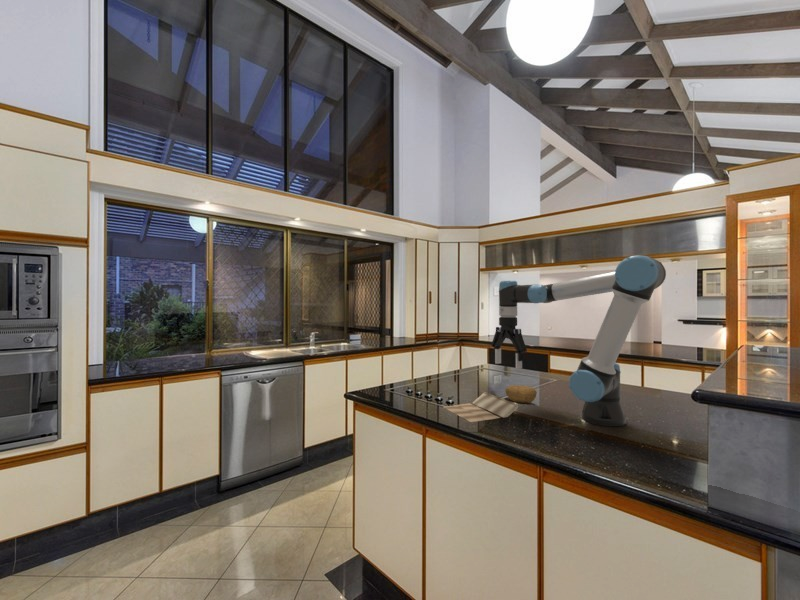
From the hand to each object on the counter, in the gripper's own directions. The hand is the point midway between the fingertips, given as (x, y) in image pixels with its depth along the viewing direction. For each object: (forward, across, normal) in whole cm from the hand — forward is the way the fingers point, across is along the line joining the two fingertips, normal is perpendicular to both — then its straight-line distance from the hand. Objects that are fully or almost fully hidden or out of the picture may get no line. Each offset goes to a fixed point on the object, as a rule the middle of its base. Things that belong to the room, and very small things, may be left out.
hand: (508, 366), depth 159 cm
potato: (+19, -6, +12) cm, 23 cm away
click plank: (+16, 0, -7) cm, 18 cm away
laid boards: (+19, 0, -19) cm, 27 cm away
